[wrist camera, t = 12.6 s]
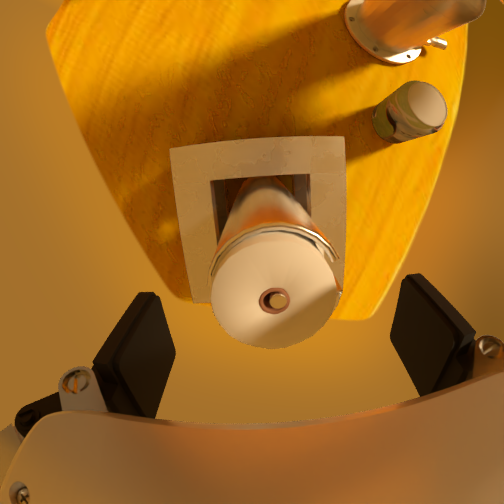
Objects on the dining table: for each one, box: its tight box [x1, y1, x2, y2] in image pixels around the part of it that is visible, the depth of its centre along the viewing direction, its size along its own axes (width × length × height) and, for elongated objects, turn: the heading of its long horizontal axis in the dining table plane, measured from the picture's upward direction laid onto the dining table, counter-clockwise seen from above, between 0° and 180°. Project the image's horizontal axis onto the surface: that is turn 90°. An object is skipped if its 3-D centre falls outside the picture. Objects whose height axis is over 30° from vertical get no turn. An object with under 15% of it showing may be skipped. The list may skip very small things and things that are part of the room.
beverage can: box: [372, 81, 447, 143], centre depth 25 cm, size 6×7×12 cm
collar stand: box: [169, 136, 346, 303], centre depth 29 cm, size 15×15×12 cm
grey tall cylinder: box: [207, 175, 342, 349], centre depth 23 cm, size 6×6×25 cm
